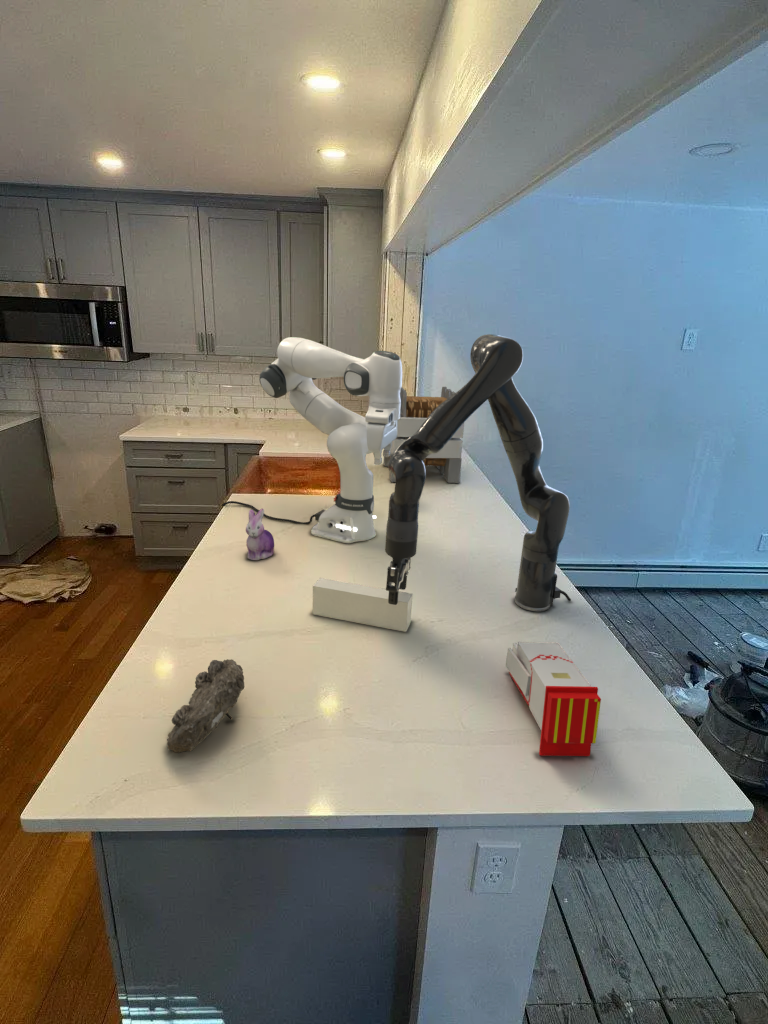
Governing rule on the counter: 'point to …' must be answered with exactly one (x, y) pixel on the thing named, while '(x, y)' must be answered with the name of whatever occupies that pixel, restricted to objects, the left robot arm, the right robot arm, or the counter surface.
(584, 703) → the toy
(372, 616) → the bar
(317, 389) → the left robot arm
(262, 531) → the figurine
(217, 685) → the fossil
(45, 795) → the counter surface
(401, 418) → the transformer
